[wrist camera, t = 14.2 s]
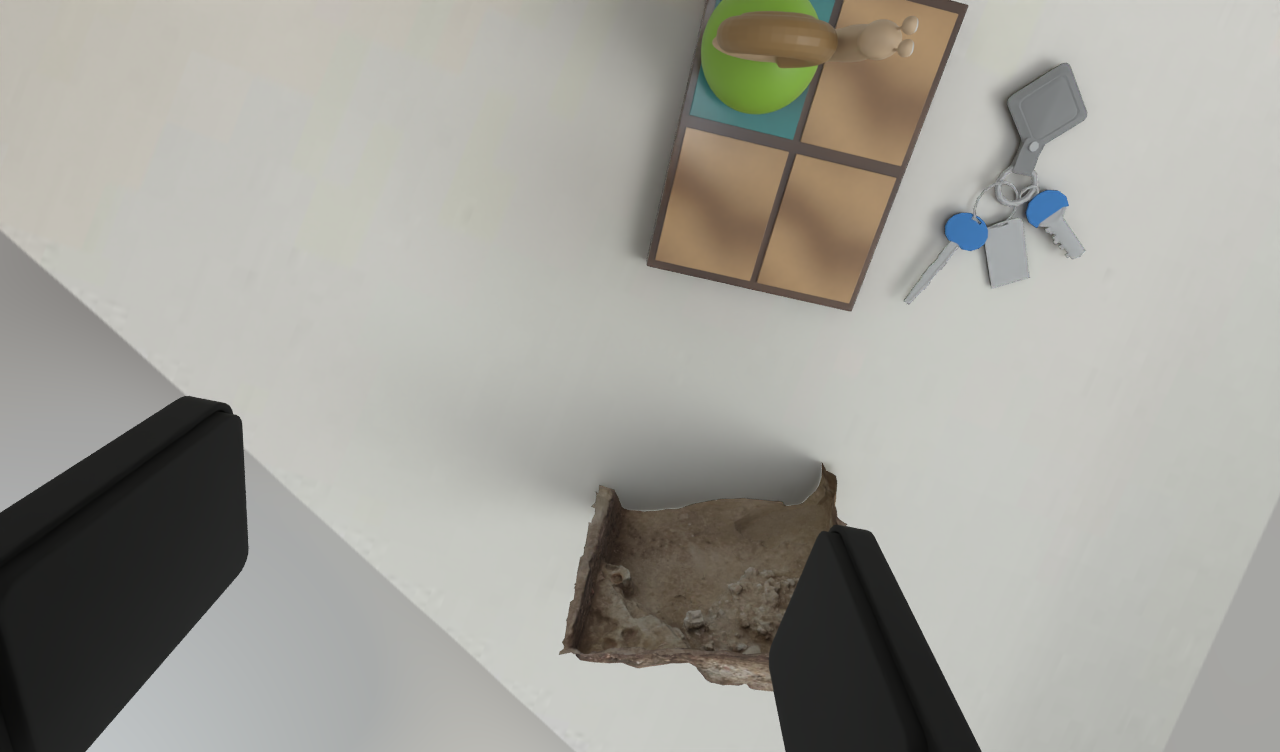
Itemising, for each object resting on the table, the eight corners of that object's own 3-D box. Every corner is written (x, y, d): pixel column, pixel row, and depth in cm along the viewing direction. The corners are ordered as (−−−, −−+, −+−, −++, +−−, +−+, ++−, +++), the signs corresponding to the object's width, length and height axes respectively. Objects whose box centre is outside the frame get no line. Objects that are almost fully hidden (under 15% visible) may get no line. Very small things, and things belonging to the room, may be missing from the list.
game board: (719, -55, 30) (721, -62, 29) (958, 7, 31) (971, 4, 30) (646, 260, 37) (646, 266, 36) (845, 305, 38) (852, 313, 36)
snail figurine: (817, 115, 32) (902, 126, 21) (693, 110, 32) (713, 119, 21) (835, -8, 30) (940, -65, 19) (701, -12, 30) (729, -73, 19)
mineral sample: (831, 459, 42) (916, 640, 28) (829, 508, 44) (908, 701, 30) (585, 477, 43) (552, 659, 29) (592, 524, 45) (565, 717, 31)
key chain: (1030, 50, 32) (1039, 49, 31) (1167, 105, 33) (1179, 106, 32) (898, 299, 37) (903, 303, 37) (1019, 340, 38) (1026, 345, 38)
